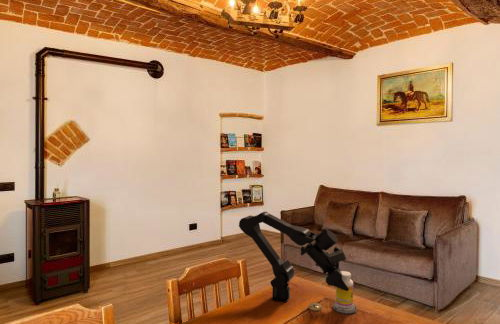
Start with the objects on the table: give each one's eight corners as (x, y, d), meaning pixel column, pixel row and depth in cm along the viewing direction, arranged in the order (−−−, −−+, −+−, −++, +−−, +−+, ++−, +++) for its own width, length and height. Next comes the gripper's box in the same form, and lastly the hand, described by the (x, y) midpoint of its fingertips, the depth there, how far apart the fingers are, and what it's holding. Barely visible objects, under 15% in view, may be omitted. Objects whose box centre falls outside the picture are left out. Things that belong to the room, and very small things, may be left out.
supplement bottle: (353, 309, 135) (354, 277, 134) (335, 307, 137) (336, 275, 136) (351, 302, 142) (353, 270, 141) (335, 300, 143) (336, 269, 142)
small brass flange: (307, 310, 137) (307, 307, 137) (309, 304, 142) (309, 302, 142) (320, 312, 136) (320, 309, 136) (322, 306, 141) (322, 303, 141)
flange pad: (331, 312, 136) (331, 308, 136) (333, 302, 145) (333, 298, 145) (356, 315, 133) (356, 312, 133) (356, 305, 142) (356, 302, 142)
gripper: (335, 250, 129) (366, 281, 128) (332, 236, 147) (358, 263, 146) (313, 269, 131) (343, 301, 130) (312, 253, 149) (338, 281, 148)
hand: (346, 285), depth 138 cm, fingers open, 9 cm apart
